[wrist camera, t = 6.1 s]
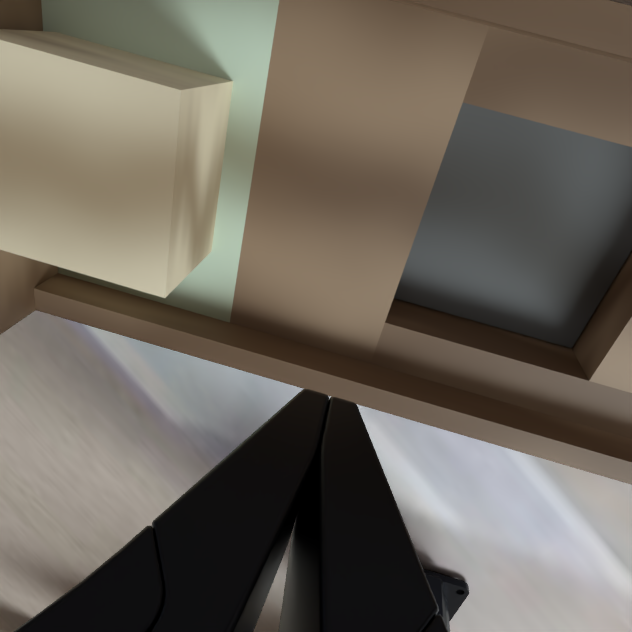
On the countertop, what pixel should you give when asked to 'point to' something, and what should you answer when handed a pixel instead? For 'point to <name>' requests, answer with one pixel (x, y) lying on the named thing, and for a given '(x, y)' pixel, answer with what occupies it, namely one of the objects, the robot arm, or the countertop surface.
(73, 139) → the maple block
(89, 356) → the countertop surface
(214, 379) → the countertop surface
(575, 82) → the box
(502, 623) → the countertop surface
